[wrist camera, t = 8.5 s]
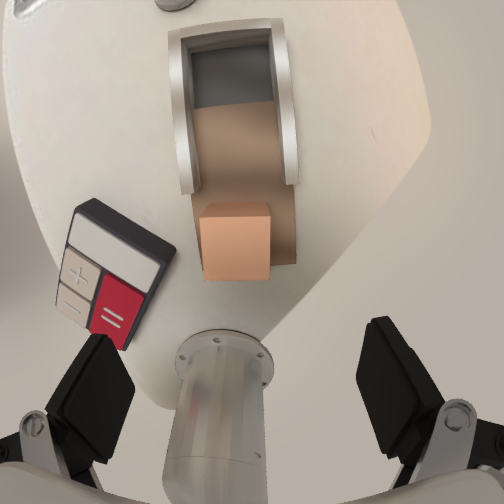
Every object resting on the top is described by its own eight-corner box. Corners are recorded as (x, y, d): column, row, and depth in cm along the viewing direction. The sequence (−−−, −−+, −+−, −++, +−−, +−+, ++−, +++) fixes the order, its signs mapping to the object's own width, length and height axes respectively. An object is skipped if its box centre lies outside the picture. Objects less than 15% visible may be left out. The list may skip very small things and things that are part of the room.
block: (266, 254, 26) (269, 280, 21) (212, 255, 26) (204, 280, 21) (266, 201, 24) (270, 216, 19) (209, 203, 24) (199, 217, 19)
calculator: (51, 310, 26) (70, 207, 21) (68, 292, 30) (93, 195, 25) (123, 357, 29) (165, 267, 23) (134, 334, 32) (178, 247, 27)
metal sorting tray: (294, 257, 27) (301, 278, 23) (205, 264, 28) (197, 286, 23) (277, 37, 19) (282, 18, 15) (180, 47, 19) (167, 31, 15)
